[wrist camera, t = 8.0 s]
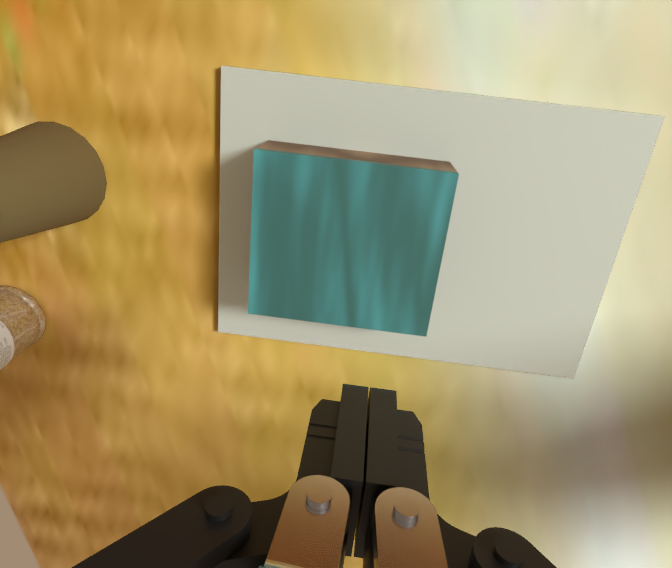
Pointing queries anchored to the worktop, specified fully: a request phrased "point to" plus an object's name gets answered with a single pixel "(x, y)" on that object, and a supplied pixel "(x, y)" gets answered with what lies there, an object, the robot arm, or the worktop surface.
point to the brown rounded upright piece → (47, 179)
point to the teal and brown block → (347, 236)
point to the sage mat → (454, 210)
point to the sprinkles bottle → (18, 322)
